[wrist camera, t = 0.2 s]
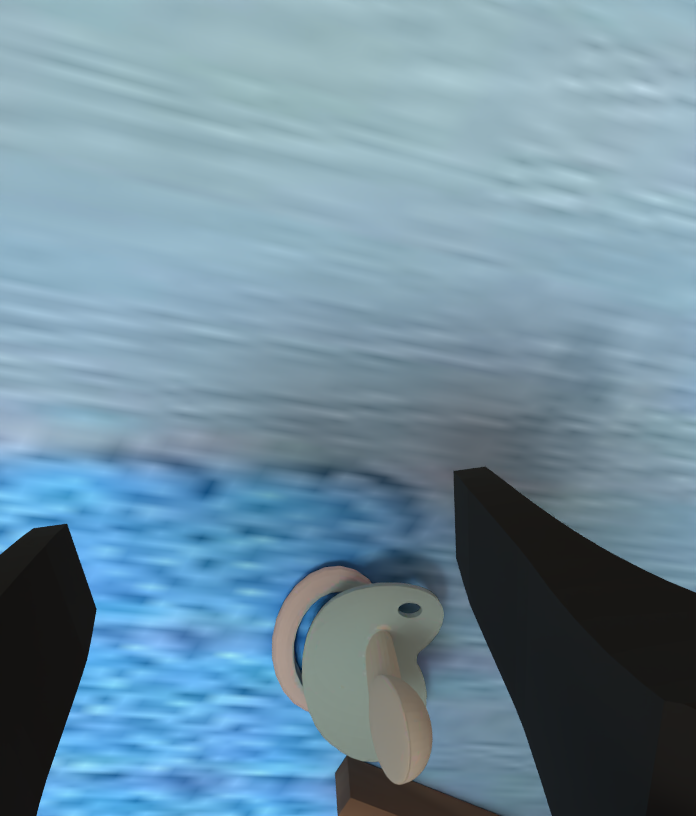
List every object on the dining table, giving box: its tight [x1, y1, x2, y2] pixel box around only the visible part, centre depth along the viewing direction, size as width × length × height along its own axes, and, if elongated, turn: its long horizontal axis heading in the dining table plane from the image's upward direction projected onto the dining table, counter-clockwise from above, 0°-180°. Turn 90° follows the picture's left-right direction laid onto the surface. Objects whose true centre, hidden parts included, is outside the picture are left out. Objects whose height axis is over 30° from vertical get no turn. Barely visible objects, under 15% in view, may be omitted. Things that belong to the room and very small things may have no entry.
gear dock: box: [335, 756, 499, 816], centre depth 26 cm, size 12×12×2 cm
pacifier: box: [272, 566, 444, 785], centre depth 22 cm, size 7×6×6 cm
